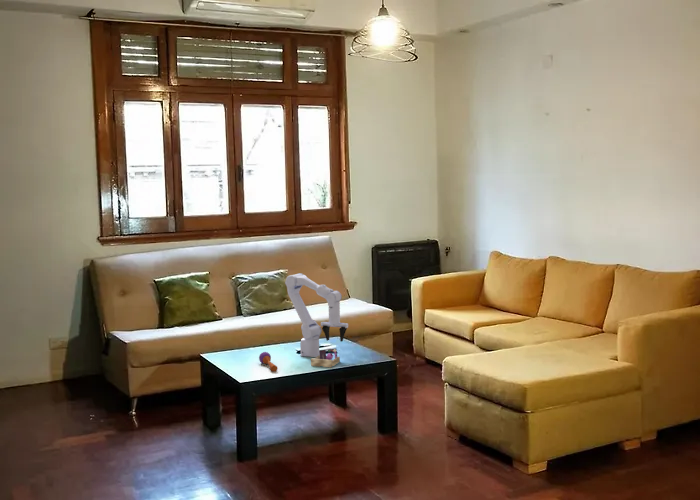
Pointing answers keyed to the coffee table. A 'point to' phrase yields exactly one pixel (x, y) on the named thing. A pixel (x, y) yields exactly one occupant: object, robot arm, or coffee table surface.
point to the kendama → (267, 361)
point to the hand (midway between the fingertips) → (334, 340)
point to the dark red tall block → (329, 356)
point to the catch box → (324, 362)
